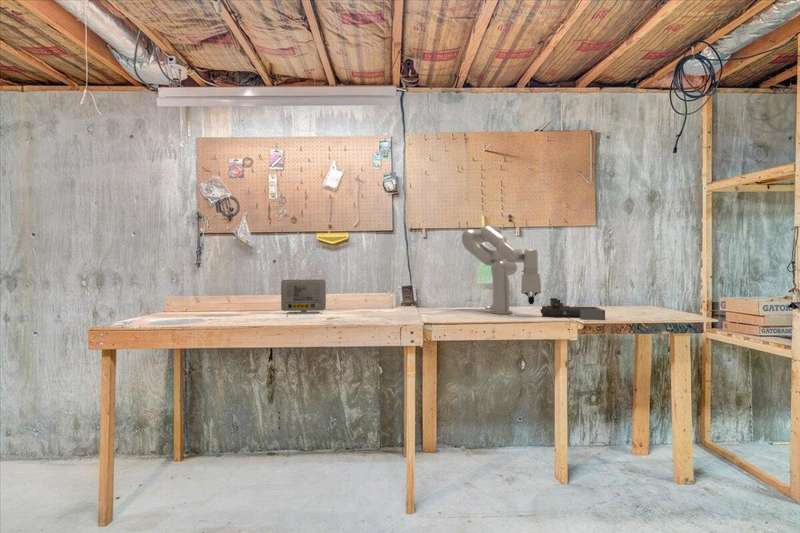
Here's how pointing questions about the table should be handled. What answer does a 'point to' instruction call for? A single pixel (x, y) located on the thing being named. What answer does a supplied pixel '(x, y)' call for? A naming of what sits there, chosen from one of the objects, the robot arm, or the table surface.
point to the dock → (592, 313)
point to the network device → (303, 296)
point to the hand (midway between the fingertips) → (531, 304)
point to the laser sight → (560, 310)
